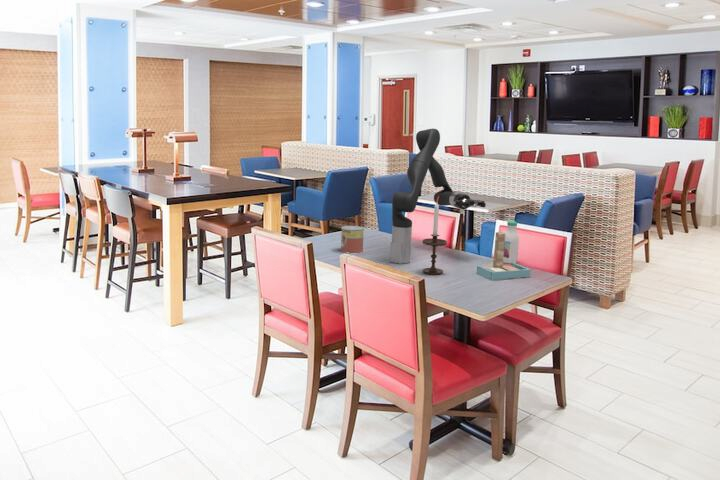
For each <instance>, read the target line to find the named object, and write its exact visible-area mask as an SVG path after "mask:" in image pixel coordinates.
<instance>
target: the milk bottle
mask: <svg viewBox="0 0 720 480" xmlns="http://www.w3.org/2000/svg"><path fill="white" fill-rule="evenodd" d="M506 226H507V228H506V230H505V232H504V233H505V243H504V255H503V264H504V263H505V264H512V263H516V264H518V256H519V247H520V246H519V244H520V238H519V237H520V236H519V234H518V233H519V232H518V230H517V227H518V221H513V220H509V221H507V225H506Z"/></svg>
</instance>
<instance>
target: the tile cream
mask: <svg viewBox="0 0 720 480" xmlns="http://www.w3.org/2000/svg"><path fill="white" fill-rule="evenodd" d="M488 270H490V271H492V272H497V271H506V270H503V269H501V268H489V269H488Z"/></svg>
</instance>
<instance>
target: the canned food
mask: <svg viewBox="0 0 720 480" xmlns="http://www.w3.org/2000/svg"><path fill="white" fill-rule="evenodd" d="M364 229H365V227H362V226H358V225H345V226H341V234H340V235H341V243H340V252H341V251H342V252H341V253H344V254H347V253H346V252H349V253H348V254H350V255H351V253H357V254H361V252H362V253H364V231H365V230H364Z"/></svg>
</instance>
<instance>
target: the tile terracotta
mask: <svg viewBox="0 0 720 480" xmlns="http://www.w3.org/2000/svg"><path fill="white" fill-rule="evenodd" d="M502 269H503V270H506V271H510V270H520V269H517V268H515V267H512V266H511V267H503V268H502Z"/></svg>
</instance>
